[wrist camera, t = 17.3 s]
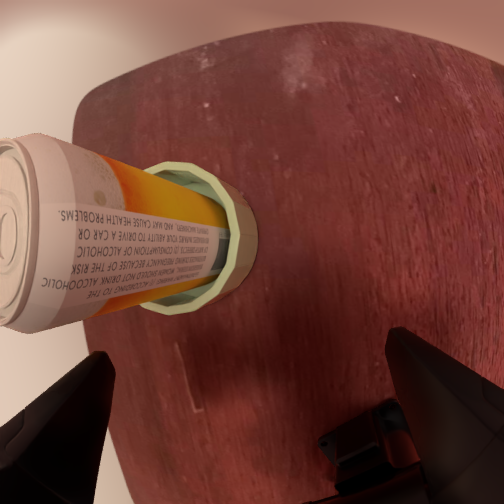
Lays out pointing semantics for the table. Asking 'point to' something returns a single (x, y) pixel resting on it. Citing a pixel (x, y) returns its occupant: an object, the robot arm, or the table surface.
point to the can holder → (239, 246)
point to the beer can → (96, 235)
